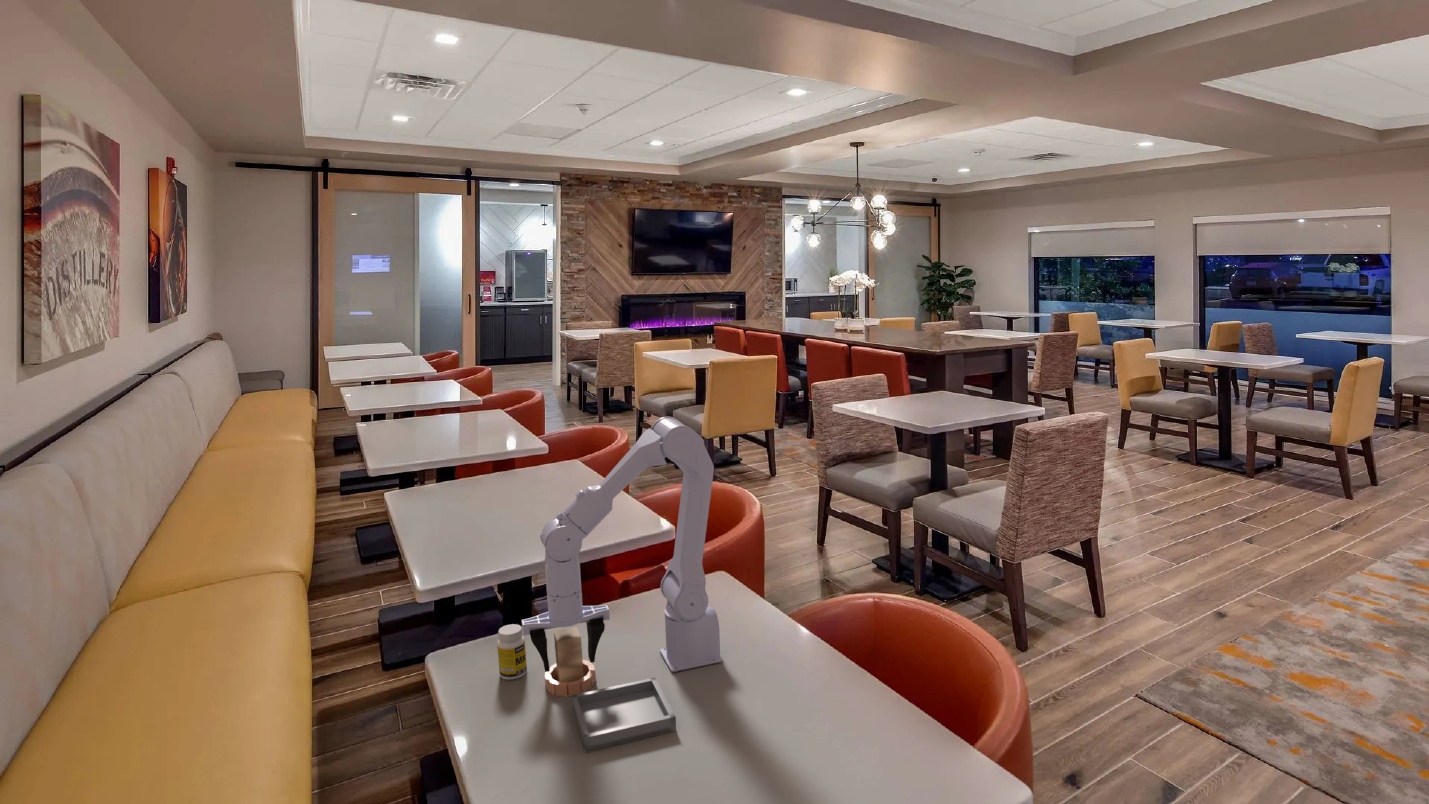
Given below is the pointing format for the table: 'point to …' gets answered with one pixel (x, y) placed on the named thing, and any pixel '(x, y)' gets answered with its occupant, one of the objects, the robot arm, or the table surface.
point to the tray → (622, 714)
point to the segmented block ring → (573, 686)
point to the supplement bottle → (511, 652)
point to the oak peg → (568, 655)
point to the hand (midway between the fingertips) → (569, 664)
